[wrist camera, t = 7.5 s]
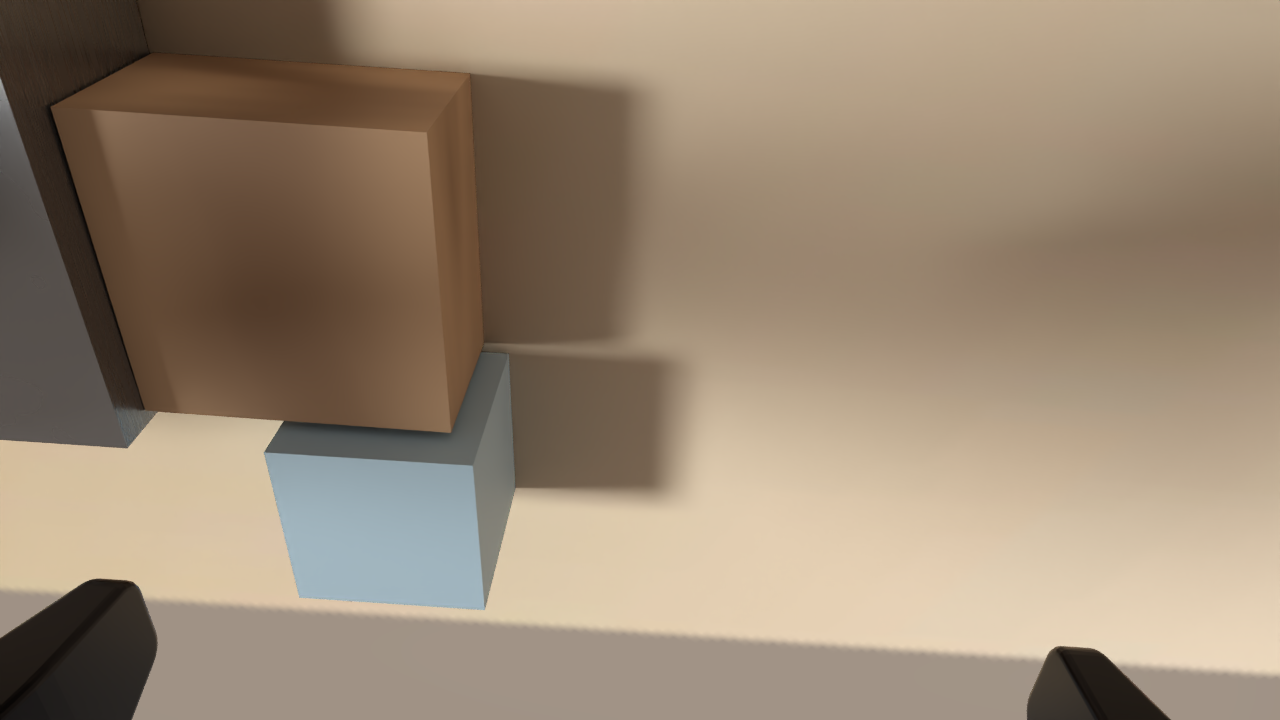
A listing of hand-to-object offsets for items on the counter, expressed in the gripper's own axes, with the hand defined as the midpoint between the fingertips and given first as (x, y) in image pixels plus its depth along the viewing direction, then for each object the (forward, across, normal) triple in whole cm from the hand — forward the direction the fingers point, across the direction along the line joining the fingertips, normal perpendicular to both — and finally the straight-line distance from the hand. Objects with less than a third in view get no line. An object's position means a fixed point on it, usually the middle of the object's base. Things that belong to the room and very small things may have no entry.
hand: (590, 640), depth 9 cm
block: (+11, +5, +6) cm, 14 cm away
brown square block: (+11, +6, +1) cm, 13 cm away
